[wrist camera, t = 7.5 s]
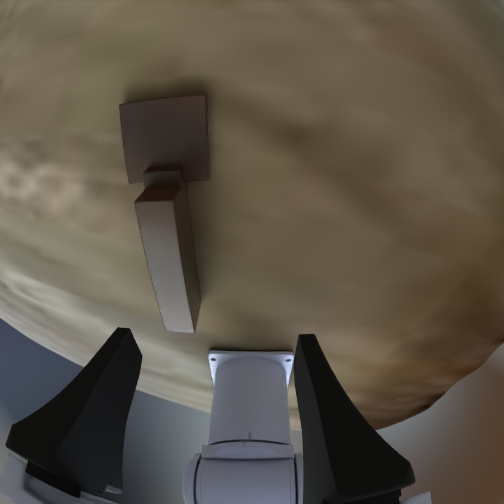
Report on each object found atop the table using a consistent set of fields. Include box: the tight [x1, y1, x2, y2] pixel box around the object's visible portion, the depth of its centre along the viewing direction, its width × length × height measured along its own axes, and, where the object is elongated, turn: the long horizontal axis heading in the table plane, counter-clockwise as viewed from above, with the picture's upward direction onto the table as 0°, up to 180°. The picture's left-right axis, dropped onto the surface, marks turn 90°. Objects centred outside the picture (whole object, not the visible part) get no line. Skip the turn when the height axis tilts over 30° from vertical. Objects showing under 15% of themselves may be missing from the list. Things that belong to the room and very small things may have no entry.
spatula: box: [119, 94, 210, 333], centre depth 16 cm, size 15×5×3 cm, turn 179°
